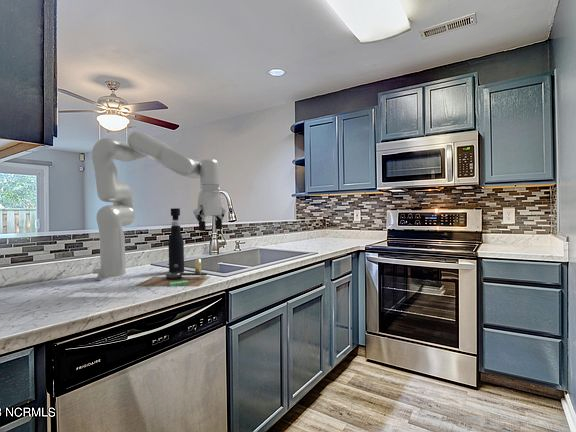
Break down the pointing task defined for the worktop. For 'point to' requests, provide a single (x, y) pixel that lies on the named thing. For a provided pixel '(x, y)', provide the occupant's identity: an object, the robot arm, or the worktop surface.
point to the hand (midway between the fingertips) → (210, 230)
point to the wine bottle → (176, 244)
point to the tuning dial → (179, 274)
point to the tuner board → (174, 281)
